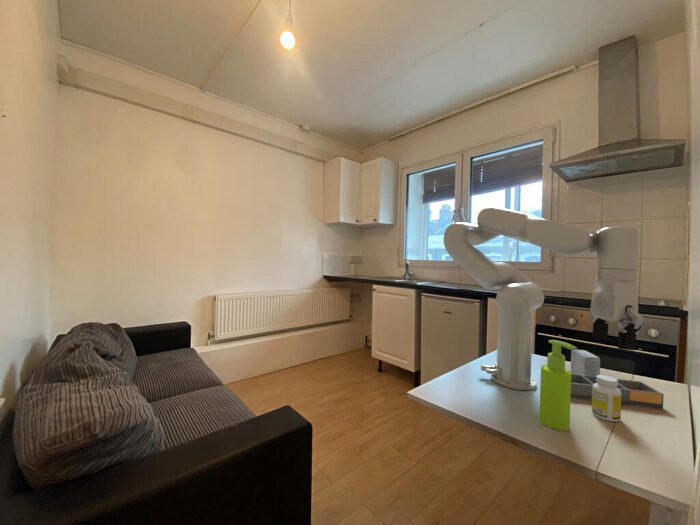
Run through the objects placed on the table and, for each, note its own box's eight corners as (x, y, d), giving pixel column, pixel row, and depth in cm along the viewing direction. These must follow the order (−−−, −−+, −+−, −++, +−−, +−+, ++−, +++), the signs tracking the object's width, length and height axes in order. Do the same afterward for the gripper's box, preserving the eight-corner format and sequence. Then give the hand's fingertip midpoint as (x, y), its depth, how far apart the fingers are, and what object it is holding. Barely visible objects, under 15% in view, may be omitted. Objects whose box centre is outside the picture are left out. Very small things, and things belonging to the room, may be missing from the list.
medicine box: (600, 385, 89) (601, 358, 88) (584, 383, 89) (585, 356, 89) (584, 374, 96) (585, 350, 96) (569, 373, 97) (570, 348, 97)
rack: (564, 396, 80) (564, 382, 80) (551, 384, 88) (552, 371, 88) (663, 409, 74) (664, 394, 74) (640, 394, 82) (641, 381, 82)
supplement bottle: (616, 414, 72) (618, 376, 71) (623, 425, 67) (625, 384, 67) (589, 408, 74) (590, 371, 74) (594, 418, 70) (595, 379, 69)
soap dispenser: (561, 435, 62) (564, 347, 62) (533, 418, 69) (536, 338, 69) (580, 431, 64) (583, 345, 64) (551, 414, 71) (554, 336, 70)
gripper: (579, 273, 79) (576, 332, 80) (622, 277, 63) (618, 353, 63) (610, 274, 78) (607, 335, 78) (663, 279, 61) (659, 356, 61)
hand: (612, 343), depth 71 cm, fingers open, 9 cm apart
